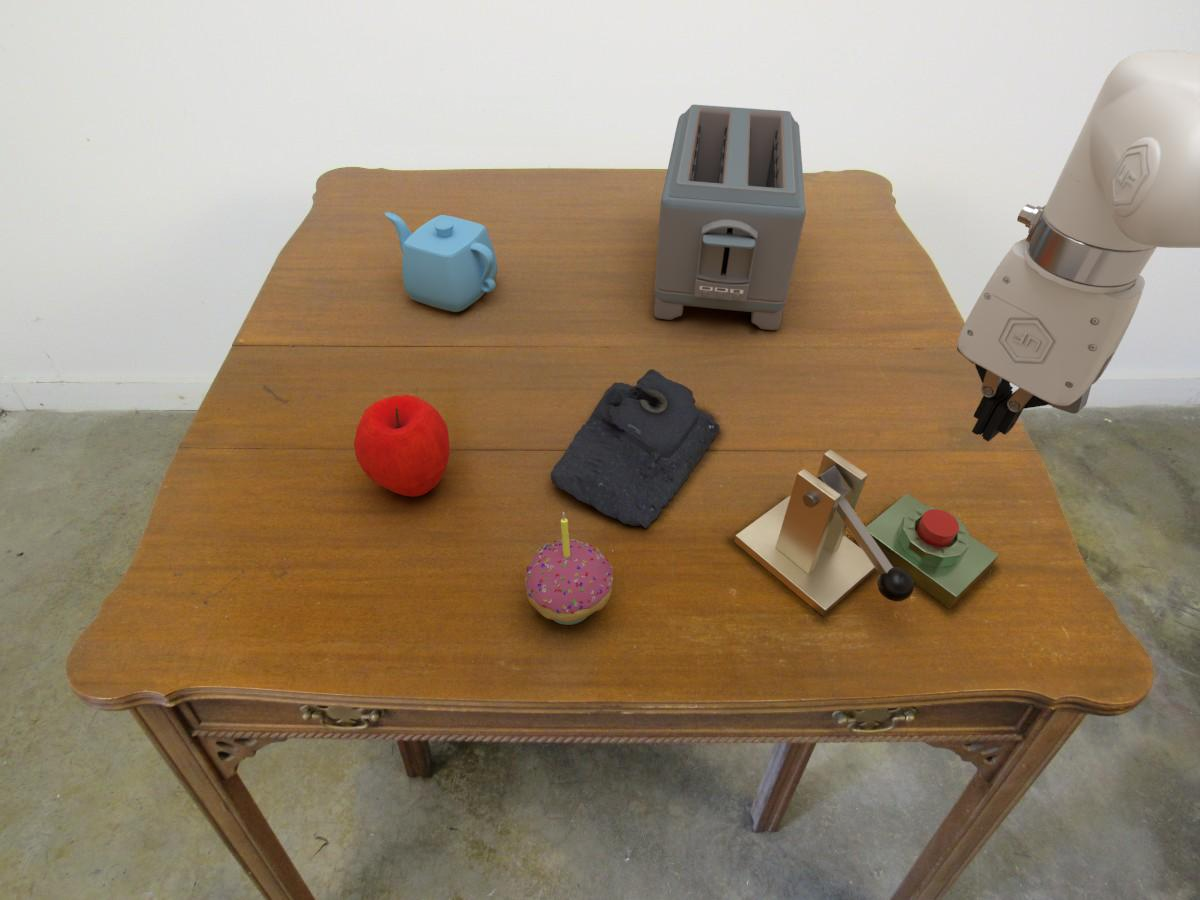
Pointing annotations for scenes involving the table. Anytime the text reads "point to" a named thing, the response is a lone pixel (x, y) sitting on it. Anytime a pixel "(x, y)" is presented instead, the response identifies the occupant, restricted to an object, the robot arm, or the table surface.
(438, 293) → the teapot
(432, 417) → the apple
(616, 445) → the dark gray ringed slab
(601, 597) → the cupcake
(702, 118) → the toaster
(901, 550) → the button housing
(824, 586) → the switch bracket
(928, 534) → the button
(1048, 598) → the table surface
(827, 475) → the lever
